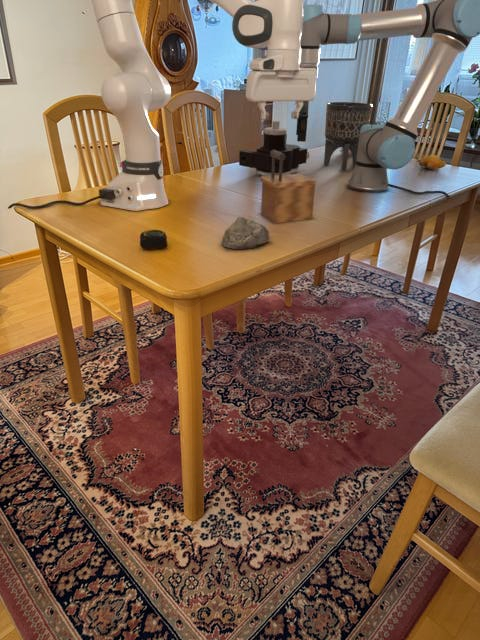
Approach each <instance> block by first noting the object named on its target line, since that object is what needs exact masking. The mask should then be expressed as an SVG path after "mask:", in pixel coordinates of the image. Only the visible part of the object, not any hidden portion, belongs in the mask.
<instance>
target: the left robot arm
mask: <svg viewBox="0 0 480 640" xmlns="http://www.w3.org/2000/svg"><path fill="white" fill-rule="evenodd" d="M91 1H92V6H93V11H94V16H95V19H96V23H97V26H98V29H99V33H100V35H101V39H102V42H103V46H104V49H105V52H106V54H107V55H108V57H109V58H110V59H112V60H113V61H114V62H115V64H117V66H118V67H119V69H120V70H121V72H117V73H115V74H111V75H109V76H107V77H106V78H105V79H104V80H103V81H102V84H101V88H100V93H101V100H102V102H103V104H104V106H105V107H106V108H107V109H108V111H110V113H112V114H113V116H114V117H115V119H116V121H117V123H118V125H119V128H120V130H121V135H122V139H123V146H124V153H125V159H124V160H122V161H121V162H119V163H118V165H119V166H118V167H119V168H121V172H120V173H119V174H117V175H116V176H115V177H114V178H113V179H112V180H111V181H109V182H108V184H107V185H106V188H105V187H103V188H100V189H98V196H94V197H92V198H89V199H87V200H85V201H82V202H73V201H70V200H64V199H63V200H61V199H59V200H53V201H49V202H47V203H44V204H40V205H28V204H23V203H19V202H14V203H11V204H9V205H8V207H7V209H8V210H10V209H12V208H13V207H17V206H18V207H22V208H25V209H30V210H36V209H43V208H46V207H49V206H52V205H55V204H69V205H72V206H83V205H87V204H88V203H91V202H94V201H96V200H100V206H104V207H111V208H117V209H121V210H129V211H134V212H139V211H143V210H151V209H159V208H163V207H165V206H167V205H169V200H168V196H167V193H166V190H165V189H166V188H165V185H164V166H163V159H162V158H161V157H162V156H161V155H162V154H161V143H160V141H161V140H160V134H159V132H158V131H157V130H156V128H154V127H153V125H152V123H151V121H150V117H149V114H148V113H149V112H156V111H159V110H160V109H162V108H164V107H165V106H167V105H168V104H169V102H170V100H171V96H172V90H171V89H172V88H171V86H170V82H169V80H167V78H166V76H164V75H162V73H161V72H160V71H159V69H158V68H157V67H156V65H155V64H154V61H153V60H152V58H151V56H150V54H149V52H148V50H147V48H146V46H145V42H144V39H143V36H142V33H141V29H140V26H139V23H138V19H137V16H136V12H135V8H134V4H133V0H91ZM208 1H209V2H212V3H214V4H215V5H216V6H218V7H220V8H221V9H222V10H223V11H225V12H226V13H227V14H228V15H229V16H230V17H232V21H231V22H232V23H231V28H232V34H233V37H234V39H235V40H236V41H237V42H238V43H239V44H240V45H241V46H243V47H246V48H251V49H258V50H261V51H266V54H265V55H262V56H260V57H257V58H254V59H252V60H250V61H249V70H251V71H249V73H248V74H247V78H246V83H245V84H246V85H245V98H246V100H247V101H248V102H252V103H257V108H258V109H259V111H260V113H261V115H260V118H261V120H263V121H269V118H270V117H269V116H270V112H267V111H266V108H265V107H266V106H267V103H268V102H295V103H294V105H295V108H294V110H293V111H291V112H290V114H291V115H290V119H293V120H297V119H298V117H299V112H300V110H301V108H302V106H303V101H309V102H313V101H314V100H315V98H316V95H317V83H316V82H317V81H316V80H317V79H316V80H315V78H316V68H315V66H313V65H312V64H311V63H308V64H305V63H300V54H301V46H300V37H301V33H302V28H303V5H304V1H303V0H255V1H253V0H208ZM312 67H313V68H312Z"/></svg>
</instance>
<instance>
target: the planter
mask: <svg viewBox="0 0 480 640" xmlns="http://www.w3.org/2000/svg"><path fill="white" fill-rule="evenodd" d="M373 107H374V106H373V104H372V103H367V102H353V101H333V102H327V103H326V109H325V124H324V125H325V126H324V139H325V144H324V156H323V157H324V158H323V165H325V166H328V165H330V163H331V158H332V156H333V154H334V153H335V151H336V150H337V149H341V148H342V152H341V166H340V170H341V172H345V171H347V167H348V166H347V165H348V159H349V154H348V152H349V150H350V151H351V153H352V155H351V157H352V158H351V159H352V160H351V161H352V166H353V167H355V165H356V158H357V151H358V143H359V134H360V131H361V127H362V126H363V125H370V121H371V116H372V112H373Z"/></svg>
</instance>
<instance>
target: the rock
mask: <svg viewBox="0 0 480 640" xmlns="http://www.w3.org/2000/svg"><path fill="white" fill-rule="evenodd" d="M269 241H270V233H269V230H268V229H267V228H266V226H265V225H263V224H261V223H259V222H256V221H255V220H252V219H247V218H245V217H241V216H238V217H237V218H236V219H235V221H234V222H233V223H232V224H231V225H229V226H228V227H227V228H226V229H225V231H224V233H223V236H222V239H221V244H222V247H224V248H229V249H231V250H245V249H254V248H257V247H259V246H260V245H264V244H266V242H269Z"/></svg>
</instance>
